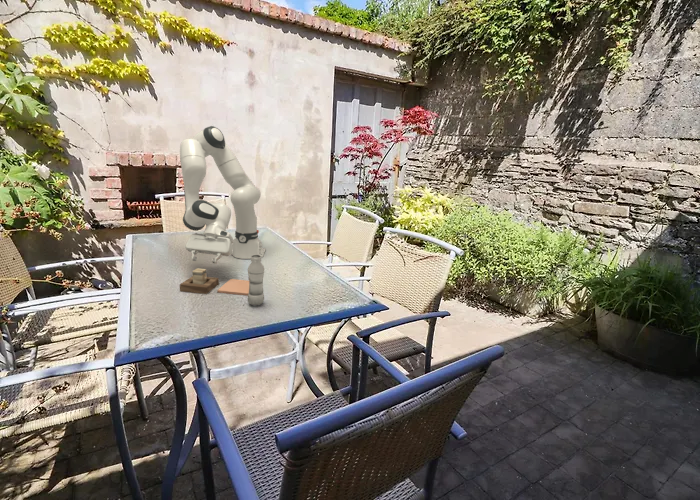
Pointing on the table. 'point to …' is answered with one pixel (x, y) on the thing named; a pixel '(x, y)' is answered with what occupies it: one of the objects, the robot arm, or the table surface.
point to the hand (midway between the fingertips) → (203, 261)
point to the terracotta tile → (235, 287)
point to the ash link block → (199, 276)
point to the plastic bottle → (255, 281)
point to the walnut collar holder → (199, 285)
